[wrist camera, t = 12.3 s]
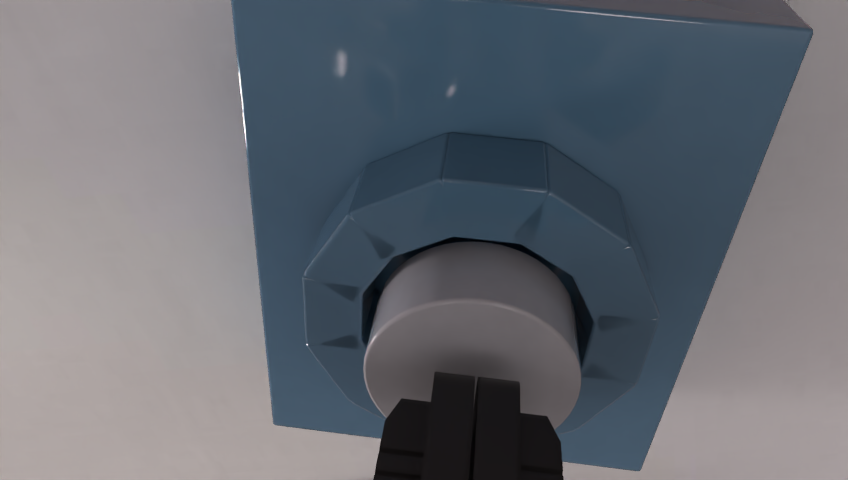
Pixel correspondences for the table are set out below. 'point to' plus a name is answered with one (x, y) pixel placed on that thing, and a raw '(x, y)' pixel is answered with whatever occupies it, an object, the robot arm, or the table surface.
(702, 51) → the block
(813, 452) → the table surface
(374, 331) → the grey push button
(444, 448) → the robot arm
